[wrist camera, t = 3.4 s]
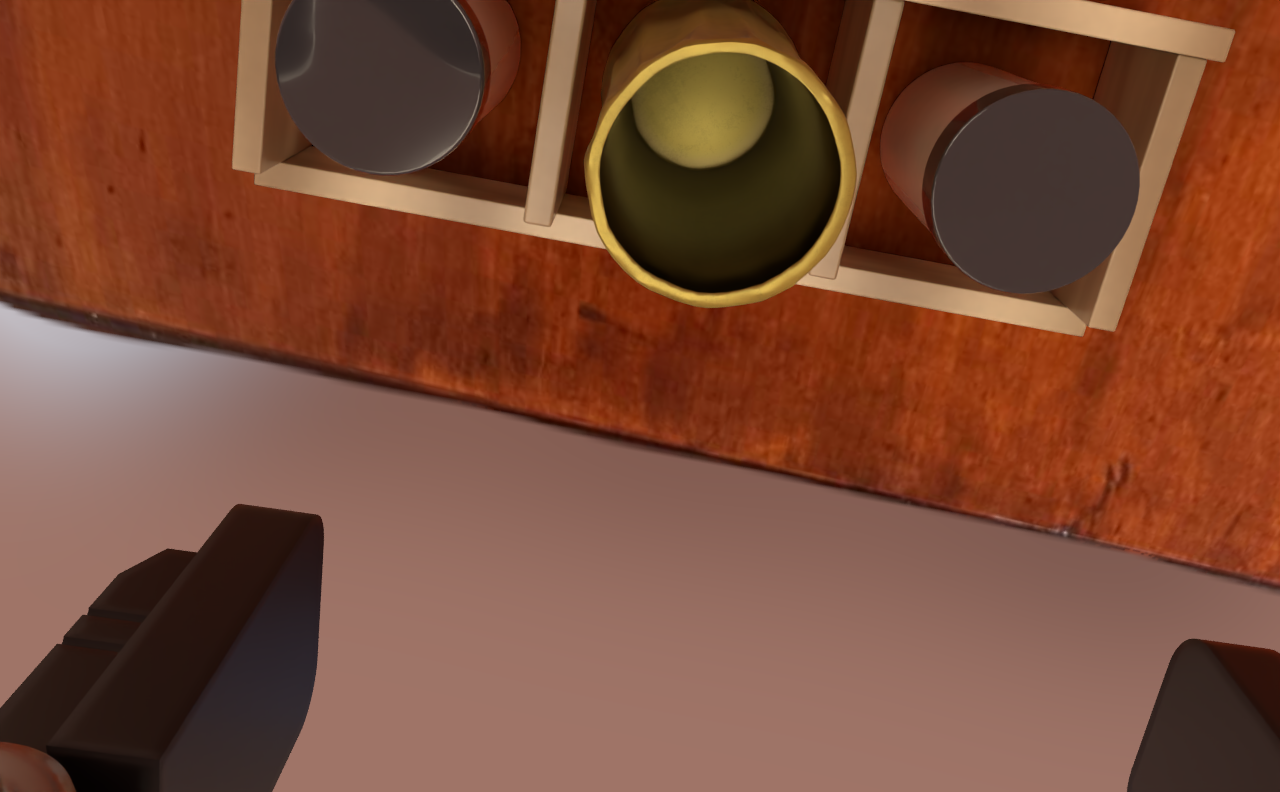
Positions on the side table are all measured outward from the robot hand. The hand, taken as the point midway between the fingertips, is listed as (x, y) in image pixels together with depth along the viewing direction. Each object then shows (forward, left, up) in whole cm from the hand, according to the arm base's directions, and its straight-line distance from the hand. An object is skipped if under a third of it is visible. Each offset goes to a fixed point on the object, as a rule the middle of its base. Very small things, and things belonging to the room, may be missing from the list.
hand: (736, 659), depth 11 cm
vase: (0, +2, -28) cm, 28 cm away
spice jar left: (-8, +2, -28) cm, 29 cm away
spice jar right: (+8, +2, -28) cm, 29 cm away
